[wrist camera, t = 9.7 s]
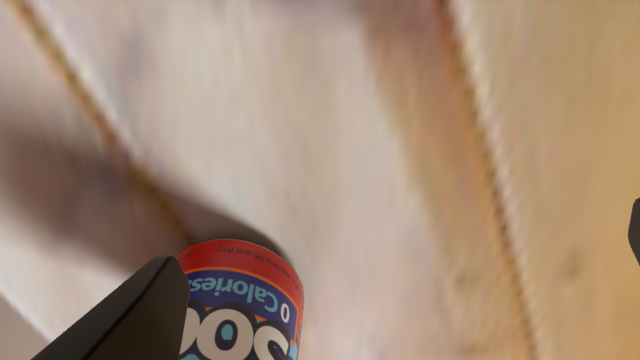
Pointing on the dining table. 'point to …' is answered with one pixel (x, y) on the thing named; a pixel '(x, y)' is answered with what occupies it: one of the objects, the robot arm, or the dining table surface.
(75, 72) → the dining table surface
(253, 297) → the soda can
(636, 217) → the robot arm
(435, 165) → the dining table surface
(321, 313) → the dining table surface
